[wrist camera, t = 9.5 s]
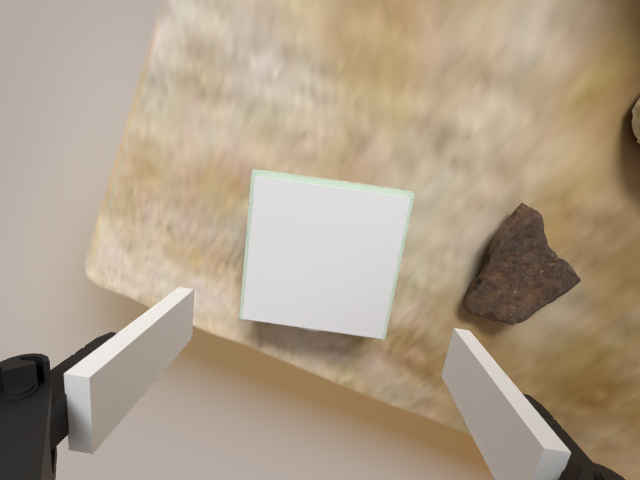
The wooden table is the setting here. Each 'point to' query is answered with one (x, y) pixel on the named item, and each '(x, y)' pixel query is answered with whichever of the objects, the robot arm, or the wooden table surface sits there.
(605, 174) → the wooden table surface
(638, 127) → the decorative object
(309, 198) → the scale
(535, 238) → the rock
